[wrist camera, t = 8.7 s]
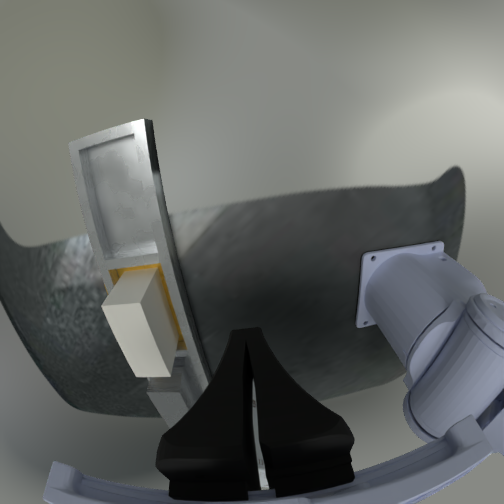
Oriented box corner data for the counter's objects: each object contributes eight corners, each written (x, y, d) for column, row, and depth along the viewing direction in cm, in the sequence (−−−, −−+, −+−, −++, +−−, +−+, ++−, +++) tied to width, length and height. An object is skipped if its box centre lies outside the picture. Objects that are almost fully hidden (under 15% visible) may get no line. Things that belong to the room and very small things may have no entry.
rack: (152, 120, 17) (123, 115, 12) (218, 397, 28) (218, 437, 23) (80, 141, 17) (37, 147, 12) (168, 399, 28) (162, 437, 23)
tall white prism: (157, 267, 21) (140, 302, 16) (179, 335, 23) (170, 376, 19) (124, 271, 21) (101, 305, 16) (149, 337, 23) (136, 376, 19)
